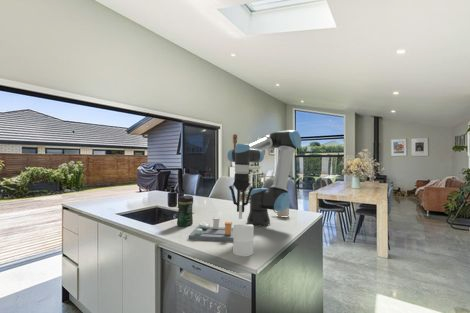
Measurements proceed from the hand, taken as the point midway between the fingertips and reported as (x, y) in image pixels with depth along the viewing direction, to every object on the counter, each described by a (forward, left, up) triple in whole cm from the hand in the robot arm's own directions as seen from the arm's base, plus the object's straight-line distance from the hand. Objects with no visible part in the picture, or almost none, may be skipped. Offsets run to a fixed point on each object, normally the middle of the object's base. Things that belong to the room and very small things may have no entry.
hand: (240, 218), depth 125 cm
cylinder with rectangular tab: (-3, +17, -11) cm, 21 cm away
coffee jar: (+36, -22, -11) cm, 44 cm away
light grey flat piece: (+21, -10, -7) cm, 24 cm away
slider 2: (+6, 0, -9) cm, 11 cm away
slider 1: (+14, -9, -9) cm, 19 cm away
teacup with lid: (-27, -58, -11) cm, 65 cm away
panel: (+14, -5, -11) cm, 19 cm away
